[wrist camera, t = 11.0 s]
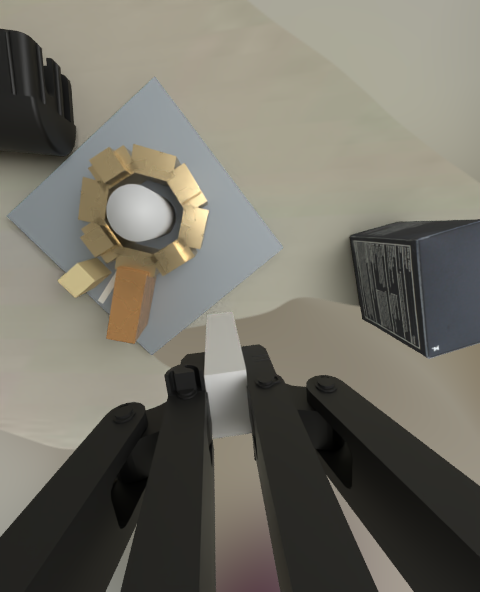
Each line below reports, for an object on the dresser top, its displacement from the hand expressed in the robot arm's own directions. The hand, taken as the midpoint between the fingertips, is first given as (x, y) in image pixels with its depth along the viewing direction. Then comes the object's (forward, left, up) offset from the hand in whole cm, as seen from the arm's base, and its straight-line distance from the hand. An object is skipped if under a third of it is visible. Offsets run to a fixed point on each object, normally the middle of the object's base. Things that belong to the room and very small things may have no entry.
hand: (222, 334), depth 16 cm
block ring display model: (-8, -2, -15) cm, 17 cm away
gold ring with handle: (-7, -3, -13) cm, 15 cm away
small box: (+11, +15, -15) cm, 24 cm away
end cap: (-23, -4, -15) cm, 28 cm away
